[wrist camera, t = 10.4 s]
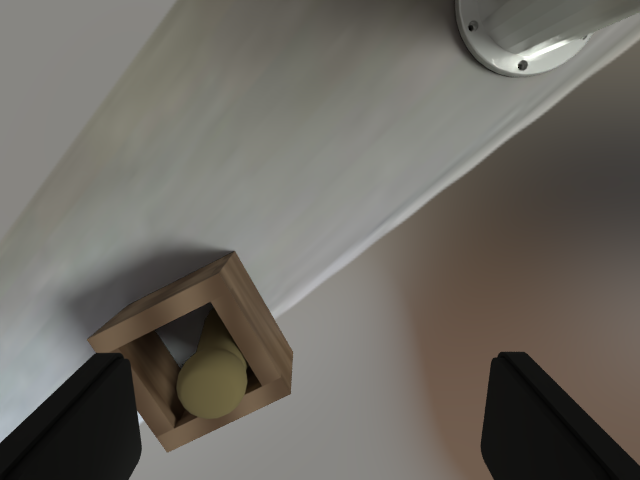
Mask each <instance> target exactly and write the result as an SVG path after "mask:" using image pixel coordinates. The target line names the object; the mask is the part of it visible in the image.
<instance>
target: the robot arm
mask: <svg viewBox="0 0 640 480" xmlns="http://www.w3.org/2000/svg"><path fill="white" fill-rule="evenodd" d="M455 12H456V20H457V25H458V28H459V31H460V34H461V37H462V39H463V41H464V43H465V45H466V46H467V48H468V50H469V51H470V52H471V53H472V55H473V56H474V57H475V58H476V59H477V60H478V61H479V62H480V63H481V64H483V65H484V66H485V67H487V68H488V69H490V70H492V71H494V72H496V73H498V74H501V75H506V76H510V77H530V76H535V75H540V74H542V73H545V72H548V71H551V70H553V69H555V68H557V67H559V66H561V65H563V64H565V63H566V62H567V61H569V60H570V59H571V58H572V57H574V56H575V55H576V54H577V53H578V52H579V51H580V50H581V49H582V48H583V47H584V46H585V45H586V43H587V42H588V40H589V39H590V37H591V36H592V34H593V33H594V32H595V31H598V30H600V29H602V28H605V27H607V26H609V25H612V24H614V23H616V22H619V21H621V20H623V19H626V18H628V17H630V16H632V15H635V14H637V13H639V12H640V0H455ZM468 27H470V28H471V31H470V30H469V29H468ZM518 65H519V69H518ZM141 450H142V445H141V438H140V430H139V422H138V415H137V407H136V400H135V393H134V385H133V378H132V370H131V364H130V361H129V359H124V356H123V355H122V354H121V353H96V354H94V355H93V356H92V357H91V358H90V359H89V360H88V361H87V362H85V363H84V364H83V365H82V366H81V367H80V368H79V369H78V370H77V371H76V372H75V373H74V374H73V375H72V376H71V377H70V378H69V379H67V380H66V381H65V382H64V383H63V384H62V385H61V386H60V387H59V388H58V389H57V390H56V391H55V392H54V393H53V394H52V395H51V396H50V397H48V398H47V399H46V400H45V401H44V402H43V403H42V404H41V405H40V406H39V407H38V408H37V409H36V410H35V411H34V412H33V413H32V414H30V415H29V416H28V417H27V418H26V419H25V420H24V421H23V422H22V423H21V424H20V425H19V426H18V427H17V428H16V429H15V430H14V431H13V432H11V433H10V434H9V435H8V436H7V437H6V438H5V439H4V440H3V441H2V442H1V443H0V480H129V477H130V476H131V474H132V472H133V471H134V469H135V467H136V465H137V464H138V461H139V459H140V456H141ZM481 452H482V457H483V459H484V462H485V464H486V465H487V467H488V469H489V471H490V473H491V475H492V477H493V479H494V480H640V466H639V465H638V464H637V463H636V462H635V461H634V460H633V459H632V458H631V457H630V456H629V455H628V454H627V453H626V452H625V451H624V450H623V449H622V448H621V447H620V446H619V445H618V444H617V443H616V442H615V441H614V440H613V439H612V438H611V437H610V436H609V435H608V434H607V433H606V432H605V431H604V430H603V429H602V428H601V427H600V426H599V425H598V424H597V423H596V422H595V421H594V420H593V419H592V418H591V417H590V416H589V415H588V414H587V413H586V412H585V411H584V410H583V409H582V408H581V407H580V406H579V405H578V404H577V403H576V402H575V401H574V400H573V399H572V398H571V397H570V396H569V395H568V394H567V393H566V392H565V391H564V390H563V389H562V388H561V387H560V386H559V385H558V384H557V383H556V382H555V381H554V380H553V379H552V378H551V377H550V376H549V375H548V374H547V373H546V372H545V371H544V370H543V369H542V368H541V367H540V366H539V365H538V364H537V363H536V362H535V361H534V360H533V359H532V358H531V357H530V356H529V355H528V354H526V353H525V352H500V353H499V355H498V357H497V358H493V359H492V362H491V368H490V376H489V383H488V392H487V399H486V407H485V415H484V422H483V430H482V439H481Z"/></svg>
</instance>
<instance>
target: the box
mask: <svg viewBox="0 0 640 480" xmlns="http://www.w3.org/2000/svg"><path fill="white" fill-rule="evenodd" d="M209 302H211V303H212V305H213V307H214V308H215V310H216V311H217V313H218V315H219V316H220V318H221V320H222V321H223V323H224V324H225V326H226V328H227V329H228V331H229V333H230V334H231V336H232V338H233V339H234V341H235V342H236V344H237V346H238V347H239V349H240V351H241V352H242V354H243V356H244V357H245V359H246V360H247V362H248V364H249V366H248V368H247V370H246V375H247V386H246V391H245V395H244V397H243V399H242V400H241V402H240V403H239V405H238V406H237V407H236V408H235V409H234V410H233V411H231V412H230V413H229V414H227V415H224V416H222V417H219V418H214V419H205V418H199V417H197V416H195V415H193V414H191V413H190V412H188V411H187V410H186V409H185V408H184V407H183V405H182V403H181V401H180V400H179V398H178V394H177V389H176V387H177V380H178V374H179V372H180V371H181V369H180V367H179V366H178V364H177V363H176V361H175V360H174V358H173V357H172V355H171V354H170V352H169V351H168V349H167V348H166V346H165V345H164V343H163V342H162V340H161V339H160V337H159V336H158V334H157V333H156V331H155V329H157V328H159V327H161V326H163V325H165V324H167V323H169V322H171V321H173V320H175V319H177V318H179V317H181V316H183V315H185V314H187V313H189V312H191V311H193V310H195V309H197V308H199V307H201V306H203V305H205V304H207V303H209ZM87 341H88V342H89V343H90V345H91V346H92V348H93V349H94V350H95V352H96V353H121V354H122V355H123V356H124V359H129V361H130V364H131V370H132V378H133V385H134V393H135V400H136V407H137V411H138V412H139V414H140V415H141V416H142V418H143V419H144V421H145V422H146V423H147V425H148V426H149V428H150V429H151V431H152V432H153V433H154V435H155V436H156V438H157V439H158V440H159V442H160V443H161V445H162V446H163V447H164V449H165V450H166V452H169V451H172V450H174V449H176V448H178V447H180V446H182V445H184V444H187V443H189V442H191V441H193V440H195V439H197V438H199V437H201V436H203V435H205V434H207V433H210V432H212V431H214V430H216V429H218V428H220V427H222V426H224V425H226V424H229V423H230V422H233V421H235V420H237V419H239V418H241V417H243V416H245V415H247V414H249V413H252V412H254V411H256V410H258V409H260V408H262V407H264V406H266V405H269V404H271V403H273V402H275V401H277V400H279V399H281V398H283V397H285V396H287V395H290V394H291V380H292V379H291V378H292V361H293V351H292V349H291V348H290V346H289V344H288V342H287V341H286V339H285V337H284V336H283V334H282V332H281V331H280V329H279V327H278V325H277V323H276V322H275V320H274V318H273V316H272V315H271V313H270V311H269V309H268V308H267V306H266V304H265V303H264V301H263V299H262V297H261V296H260V294H259V292H258V290H257V289H256V287H255V285H254V283H253V282H252V280H251V278H250V277H249V275H248V273H247V271H246V270H245V268H244V266H243V264H242V263H241V261H240V259H239V257H238V256H237V254H236V252H235V251H234V252H232V253H230V254H228V255H226V256H224V257H222V258H220V259H218V260H216V261H214V262H212V263H210V264H208V265H207V266H205V267H203V268H201V269H199V270H197V271H195V272H193V273H191V274H189V275H187V276H185V277H183V278H181V279H179V280H177V281H175V282H173V283H171V284H169V285H167V286H165V287H163V288H161V289H159V290H157V291H155V292H153V293H151V294H149V295H147V296H145V297H143V298H141V299H139V300H137V301H135V302H134V303H132V304H130V305H128V306H126V307H125V308H124V309H123V310H121V311H120V312H119V313H118V314H117V315H115V316H114V317H113V318H112V319H111V320H110V321H108V322H107V323H106V324H105V325H104V326H102V327H101V328H100V329H99V330H98V331H96V332H95V333H94V334H93V335H92V336H90V337H89V338H88V339H87Z"/></svg>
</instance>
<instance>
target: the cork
mask: <svg viewBox="0 0 640 480" xmlns="http://www.w3.org/2000/svg"><path fill="white" fill-rule="evenodd" d="M248 366H249V364H248V362H247V360H246V359H245V357H244V356H243V354H242V352H241V351H240V349H239V347H238V346H237V344H236V342H235V341H234V339H233V338H232V336H231V334H230V333H229V331H228V329H227V328H226V326H225V324H224V323H223V321H222V320H221V318H220V316H219V315H218V313H217V311H216V310H215V308H213V309H212V310H211V311H210V312H209V314H208V315H207V317H206V319H205V322H204V326H203V329H202V333H201V337H200V340H199V344H198V347H197V351H196V353H195V354H194V355H193V356H192V357H190V358H189V359H188V360H187V361H186V362H185V364H184V365H183V367H182V369H181V371H180V372H179V374H178V380H177V387H176V389H177V394H178V398H179V400H180V401H181V403H182V405H183V407H184V408H185V409H186V410H187V411H188V412H190V413H191V414H193V415H195V416H197V417H199V418H205V419H214V418H219V417H222V416H224V415H227V414H229V413H230V412H231V411H233V410H234V409H235V408H236V407H237V406H238V405H239V403H240V402H241V400H242V399H243V397H244V395H245V391H246V386H247V375H246V370H247V368H248Z"/></svg>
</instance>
